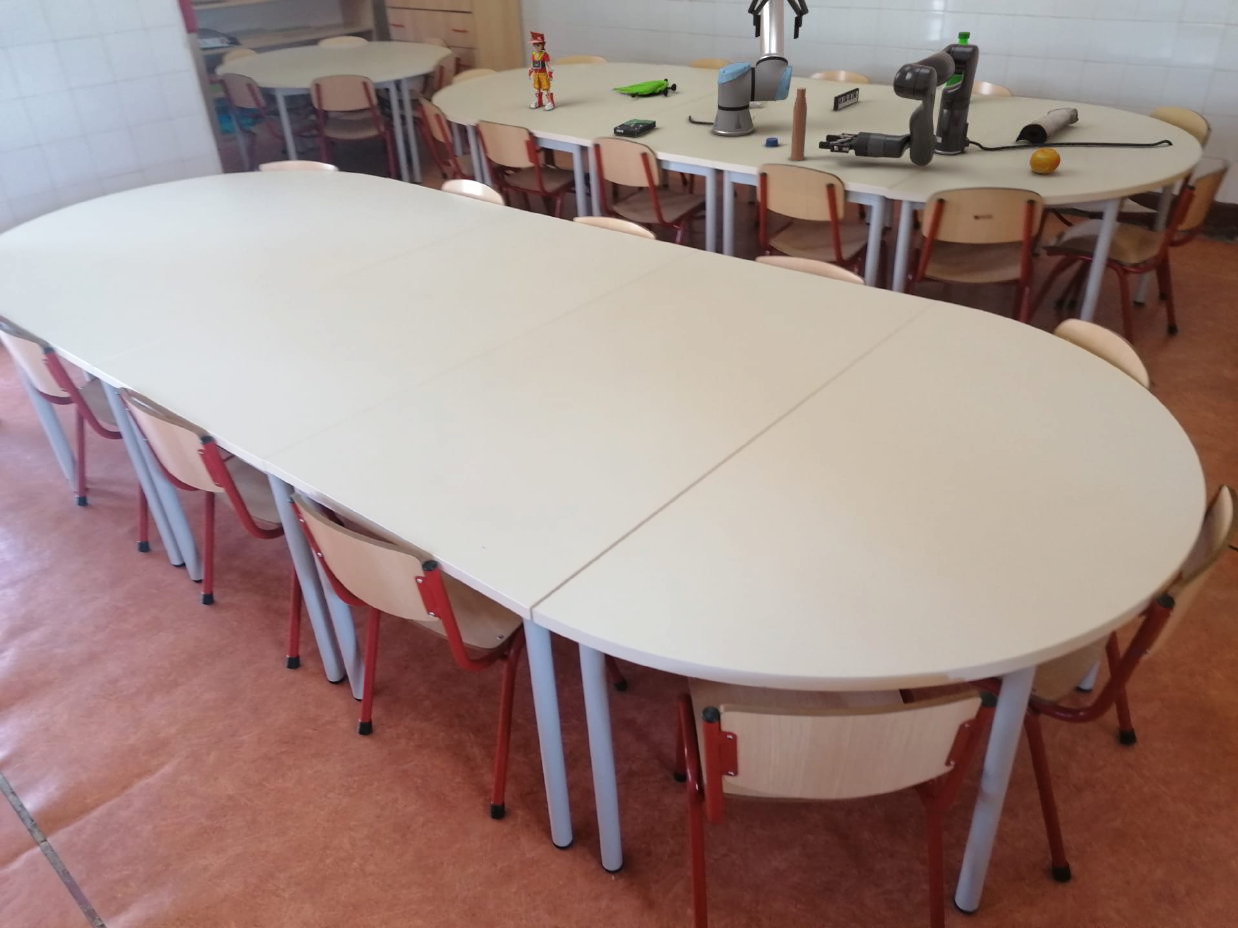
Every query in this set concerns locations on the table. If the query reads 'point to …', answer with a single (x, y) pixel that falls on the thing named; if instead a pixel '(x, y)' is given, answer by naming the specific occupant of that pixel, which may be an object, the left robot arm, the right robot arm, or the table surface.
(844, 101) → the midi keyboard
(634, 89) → the toy
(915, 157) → the right robot arm
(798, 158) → the bottle
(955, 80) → the plastic bottle
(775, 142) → the cap
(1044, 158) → the fruit
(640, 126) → the disk drive
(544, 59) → the toy
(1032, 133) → the rolled mat
